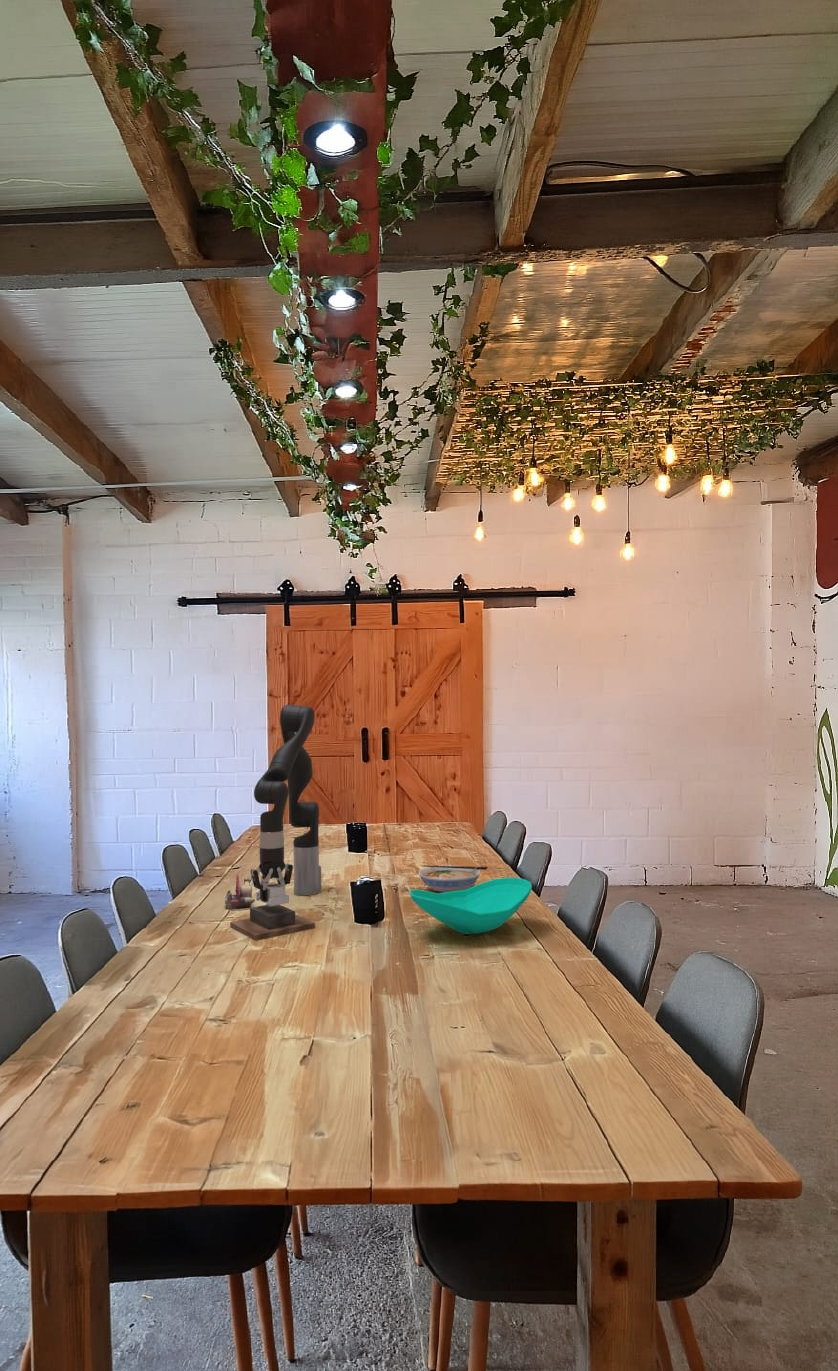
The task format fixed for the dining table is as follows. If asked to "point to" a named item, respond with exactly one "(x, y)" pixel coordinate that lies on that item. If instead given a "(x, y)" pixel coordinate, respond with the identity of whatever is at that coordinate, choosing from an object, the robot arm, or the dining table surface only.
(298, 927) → the stand
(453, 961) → the dining table surface
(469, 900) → the table top decor
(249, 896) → the brake caliper
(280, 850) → the robot arm
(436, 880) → the ramen bowl
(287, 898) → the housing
